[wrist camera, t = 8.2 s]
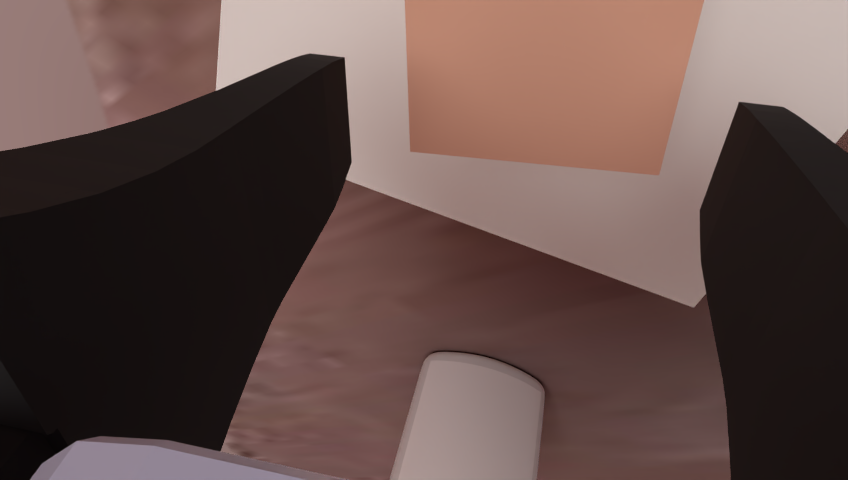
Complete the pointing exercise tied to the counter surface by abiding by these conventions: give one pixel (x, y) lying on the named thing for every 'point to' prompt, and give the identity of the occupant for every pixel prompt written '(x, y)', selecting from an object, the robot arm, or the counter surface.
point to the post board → (558, 185)
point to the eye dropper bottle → (471, 422)
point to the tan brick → (548, 79)
